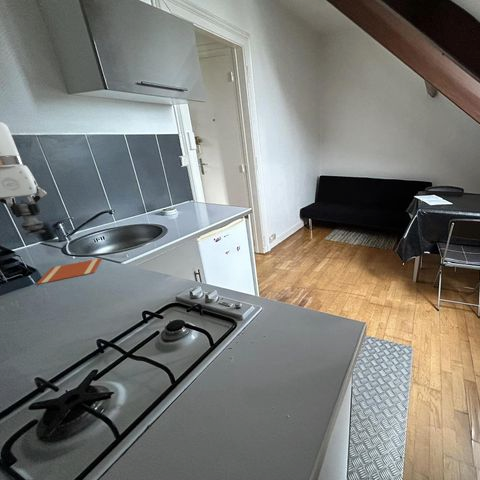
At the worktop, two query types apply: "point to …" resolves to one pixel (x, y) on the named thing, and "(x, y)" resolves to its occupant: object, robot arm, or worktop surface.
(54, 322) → the worktop surface
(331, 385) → the worktop surface
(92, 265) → the towel
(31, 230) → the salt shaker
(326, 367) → the worktop surface
